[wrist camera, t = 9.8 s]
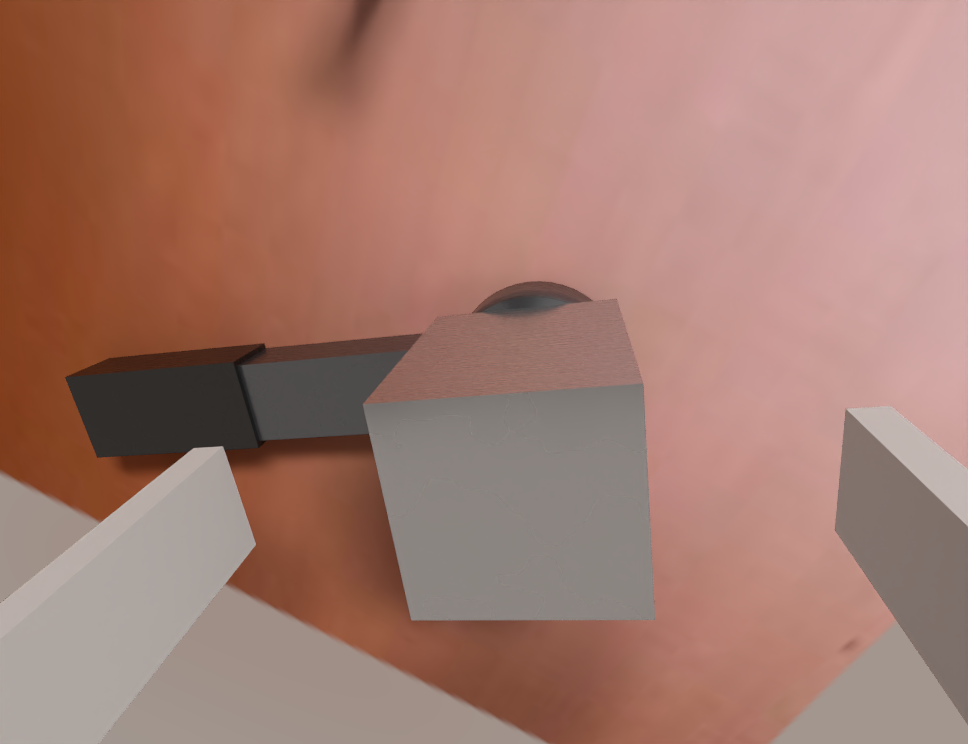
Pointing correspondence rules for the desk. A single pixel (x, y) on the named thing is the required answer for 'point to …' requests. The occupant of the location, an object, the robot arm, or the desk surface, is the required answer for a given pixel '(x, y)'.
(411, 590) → the plain grey cube
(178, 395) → the ratchet
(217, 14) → the desk surface
